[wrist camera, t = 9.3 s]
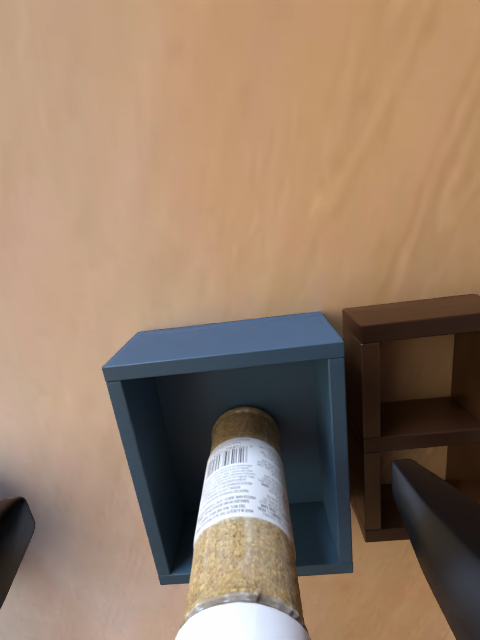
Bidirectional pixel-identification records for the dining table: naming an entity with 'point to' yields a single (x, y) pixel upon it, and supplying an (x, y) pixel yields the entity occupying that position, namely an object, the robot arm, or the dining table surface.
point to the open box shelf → (225, 394)
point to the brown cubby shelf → (409, 404)
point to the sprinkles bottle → (244, 539)
